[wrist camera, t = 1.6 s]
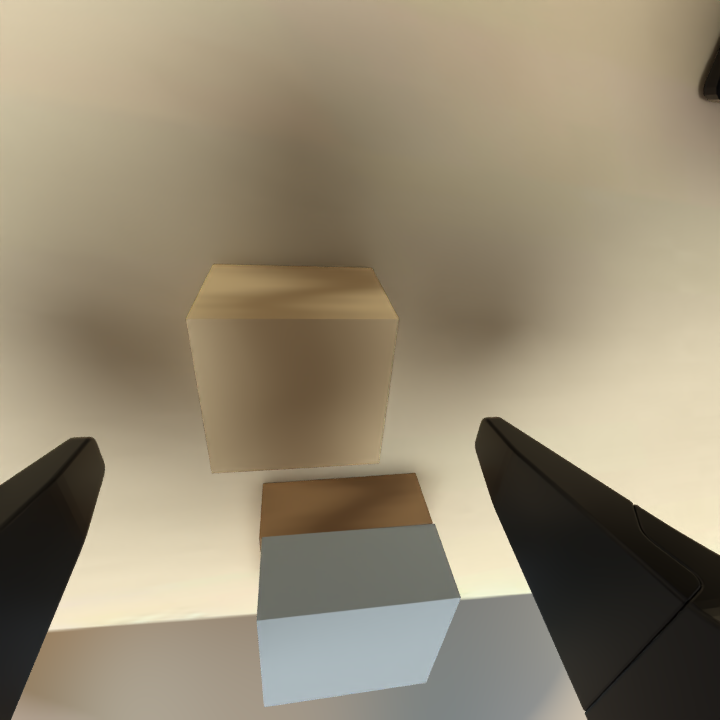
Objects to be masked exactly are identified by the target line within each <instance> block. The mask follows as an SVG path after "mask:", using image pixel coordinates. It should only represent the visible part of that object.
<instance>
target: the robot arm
mask: <svg viewBox="0 0 720 720" xmlns="http://www.w3.org/2000/svg"><path fill="white" fill-rule="evenodd" d="M704 96H705V97H706V99H707V100H708V101H711V102H718V103H720V49H719V51H718V53H717V56H716V58H715V60H714V63H713V65H712V67H711V70H710V72H709V74H708V77H707V79H706V82H705V86H704ZM475 449H476V453H477V456H478V459H479V463H480V466H481V469H482V472H483V475H484V478H485V481H486V485H487V488H488V491H489V494H490V497H491V500H492V503H493V505H494V508H495V510H496V513H497V515H498V517H499V520H500V522H501V524H502V526H503V529H504V531H505V533H506V535H507V538H508V540H509V542H510V545H511V547H512V549H513V551H514V554H515V556H516V558H517V560H518V563H519V565H520V567H521V569H522V572H523V574H524V576H525V579H526V581H527V583H528V585H529V588H530V590H531V592H532V594H533V597H534V599H535V601H536V603H537V606H538V608H539V610H540V612H541V615H542V617H543V619H544V621H545V624H546V625H547V628H548V631H549V633H550V635H551V637H552V640H553V642H554V644H555V646H556V649H557V651H558V653H559V656H560V658H561V660H562V662H563V665H564V667H565V669H566V671H567V673H568V676H569V678H570V680H571V683H572V685H573V687H574V689H575V692H576V694H577V696H578V698H579V701H580V703H581V705H582V707H583V709H584V710H585V711H586V712H585V715H586V717H587V720H720V555H719V554H717V553H715V552H713V551H711V550H710V549H708V548H706V547H705V546H703V545H701V544H699V543H698V542H696V541H694V540H693V539H691V538H689V537H687V536H686V535H684V534H682V533H680V532H679V531H677V530H676V529H674V528H672V527H671V526H669V525H668V524H666V523H664V522H663V521H661V520H659V519H658V518H656V517H655V516H653V515H651V514H650V513H648V512H647V511H645V510H644V509H642V508H641V507H639V506H638V505H633V503H632V502H631V501H630V500H628V499H626V498H625V497H623V496H622V495H620V494H619V493H617V492H616V491H614V490H612V489H611V488H609V487H608V486H606V485H605V484H603V483H602V482H600V481H598V480H597V479H595V478H594V477H592V476H591V475H589V474H587V473H586V472H584V471H583V470H581V469H580V468H578V467H577V466H575V465H573V464H572V463H570V462H569V461H567V460H566V459H564V458H563V457H561V456H559V455H558V454H556V453H555V452H553V451H552V450H550V449H549V448H547V447H545V446H544V445H542V444H541V443H539V442H538V441H536V440H534V439H533V438H531V437H530V436H528V435H527V434H525V433H524V432H522V431H520V430H519V429H517V428H516V427H514V426H513V425H511V424H510V423H508V422H506V421H505V420H503V419H502V418H500V417H486V418H484V419H483V420H482V421H481V424H480V427H479V431H478V434H477V437H476V441H475ZM104 473H105V464H104V461H103V458H102V455H101V453H100V450H99V448H98V445H97V442H96V440H95V439H94V438H92V437H74V438H70V439H69V440H67V441H65V442H64V443H62V444H61V445H59V446H58V447H56V448H55V449H53V450H52V451H50V452H49V453H47V454H46V455H44V456H43V457H42V458H40V459H39V460H37V461H36V462H34V463H33V464H31V465H30V466H28V467H27V468H25V469H24V470H22V471H21V472H19V473H18V474H16V475H15V476H13V477H12V478H10V479H9V480H7V481H6V482H4V483H3V484H1V485H0V720H11V718H12V716H13V713H14V711H15V709H16V706H17V704H18V701H19V699H20V697H21V694H22V692H23V689H24V687H25V684H26V682H27V680H28V677H29V675H30V672H31V670H32V668H33V665H34V662H35V660H36V658H37V656H38V653H39V651H40V648H41V646H42V643H43V641H44V639H45V636H46V634H47V632H48V629H49V627H50V624H51V622H52V619H53V617H54V615H55V612H56V610H57V607H58V605H59V603H60V600H61V598H62V595H63V593H64V591H65V588H66V586H67V583H68V581H69V578H70V576H71V574H72V571H73V569H74V566H75V564H76V562H77V559H78V557H79V554H80V552H81V549H82V547H83V544H84V542H85V539H86V536H87V533H88V529H89V526H90V523H91V519H92V516H93V512H94V509H95V505H96V502H97V498H98V495H99V491H100V488H101V484H102V481H103V477H104Z"/></svg>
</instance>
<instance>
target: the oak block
mask: <svg viewBox="0 0 720 720" xmlns="http://www.w3.org/2000/svg"><path fill="white" fill-rule="evenodd" d="M186 323H187V329H188V335H189V341H190V347H191V353H192V359H193V365H194V370H195V376H196V382H197V388H198V394H199V400H200V406H201V412H202V418H203V424H204V430H205V435H206V441H207V447H208V453H209V459H210V465H211V471H212V473H227V472H244V471H261V470H278V469H294V468H311V467H328V466H345V465H361V464H378V463H379V460H380V453H381V445H382V438H383V431H384V424H385V417H386V409H387V402H388V395H389V388H390V381H391V373H392V366H393V359H394V352H395V345H396V337H397V330H398V323H399V318H398V316H397V314H396V313H395V311H394V309H393V307H392V305H391V303H390V301H389V299H388V297H387V296H386V294H385V292H384V290H383V288H382V286H381V284H380V282H379V280H378V278H377V277H376V275H375V273H374V271H373V269H372V268H357V267H315V266H273V265H231V264H213V265H212V267H211V269H210V271H209V273H208V275H207V277H206V279H205V281H204V283H203V285H202V287H201V289H200V291H199V293H198V295H197V297H196V299H195V301H194V303H193V305H192V307H191V309H190V311H189V313H188V315H187V317H186Z"/></svg>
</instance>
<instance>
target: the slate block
mask: <svg viewBox="0 0 720 720" xmlns="http://www.w3.org/2000/svg"><path fill="white" fill-rule="evenodd" d="M460 598H461V597H460V594H459V591H458V588H457V585H456V583H455V580H454V577H453V574H452V571H451V568H450V566H449V563H448V560H447V557H446V554H445V551H444V549H443V546H442V543H441V540H440V537H439V534H438V532H437V529H436V526H435V524H425V525H412V526H399V527H386V528H373V529H360V530H347V531H335V532H322V533H309V534H296V535H283V536H270V537H262V545H261V561H260V577H259V593H258V609H257V630H258V639H259V640H258V641H259V652H260V664H261V675H262V686H263V698H264V707H268V706H274V705H280V704H288V703H294V702H300V701H308V700H314V699H321V698H327V697H334V696H340V695H347V694H353V693H361V692H367V691H374V690H380V689H387V688H393V687H400V686H407V685H414V684H420V683H426V681H427V679H428V676H429V674H430V671H431V669H432V667H433V664H434V662H435V659H436V657H437V654H438V652H439V649H440V647H441V645H442V642H443V640H444V637H445V635H446V632H447V630H448V628H449V625H450V623H451V620H452V618H453V615H454V613H455V611H456V608H457V606H458V603H459V601H460Z"/></svg>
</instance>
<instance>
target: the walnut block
mask: <svg viewBox="0 0 720 720" xmlns="http://www.w3.org/2000/svg"><path fill="white" fill-rule="evenodd" d="M432 523H433V522H432V520H431V517H430V514H429V511H428V508H427V505H426V502H425V499H424V497H423V494H422V491H421V488H420V485H419V482H418V479H417V476H416V474H415V473H408V474H394V475H379V476H365V477H351V478H336V479H322V480H308V481H293V482H279V483H265V484H263V492H262V507H261V521H260V536H259V540H260V550H261V545H262V537H270V536H283V535H296V534H309V533H322V532H335V531H347V530H360V529H373V528H386V527H399V526H412V525H425V524H432Z"/></svg>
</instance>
